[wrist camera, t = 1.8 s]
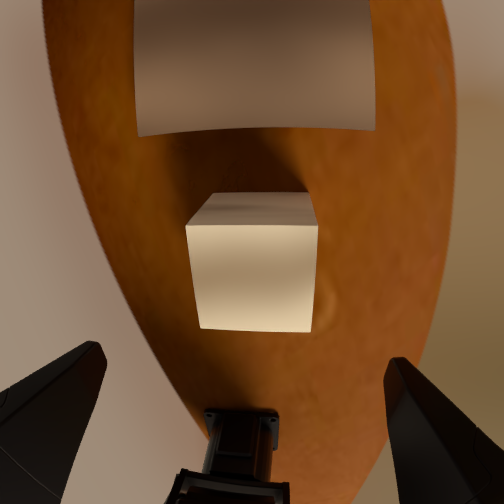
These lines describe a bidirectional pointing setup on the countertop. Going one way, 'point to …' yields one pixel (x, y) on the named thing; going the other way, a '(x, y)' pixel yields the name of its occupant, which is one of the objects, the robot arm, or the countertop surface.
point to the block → (254, 261)
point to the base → (253, 64)
